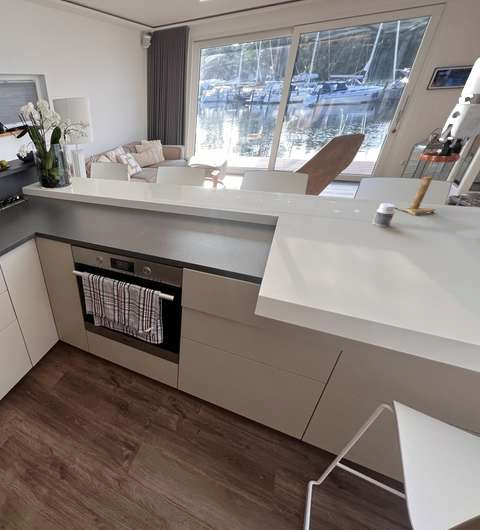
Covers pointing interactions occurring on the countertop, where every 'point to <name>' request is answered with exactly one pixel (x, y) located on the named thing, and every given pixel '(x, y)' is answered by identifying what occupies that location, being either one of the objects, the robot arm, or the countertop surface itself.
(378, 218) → the pill bottle
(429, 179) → the stand
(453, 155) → the ring
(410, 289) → the countertop surface
